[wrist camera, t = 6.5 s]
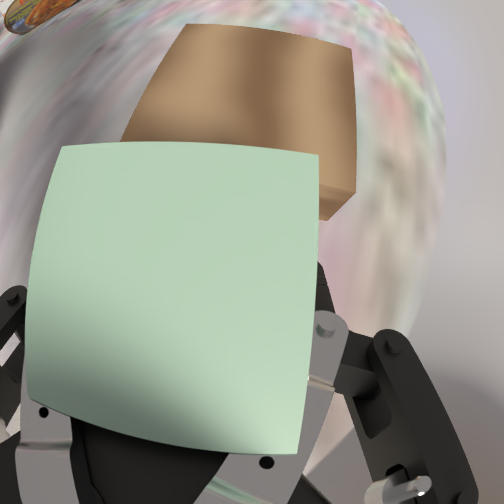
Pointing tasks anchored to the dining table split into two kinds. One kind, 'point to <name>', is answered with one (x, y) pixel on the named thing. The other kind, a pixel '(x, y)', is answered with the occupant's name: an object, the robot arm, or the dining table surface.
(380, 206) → the dining table surface
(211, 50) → the wooden block
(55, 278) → the green pillar
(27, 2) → the tin
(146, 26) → the dining table surface
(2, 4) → the cracker box
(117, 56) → the dining table surface
